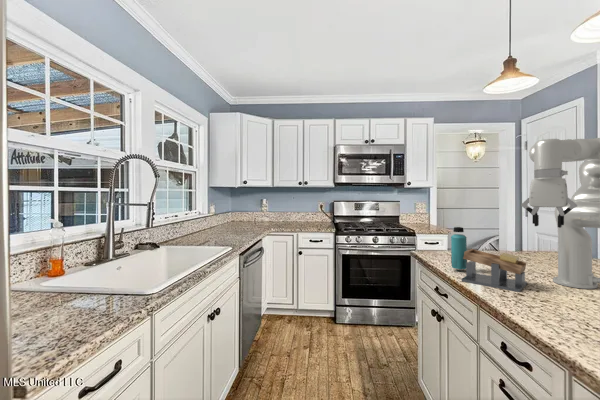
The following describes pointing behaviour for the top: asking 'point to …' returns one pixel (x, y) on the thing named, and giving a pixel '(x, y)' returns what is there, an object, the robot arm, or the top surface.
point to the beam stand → (494, 278)
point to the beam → (493, 261)
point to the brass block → (509, 258)
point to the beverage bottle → (458, 249)
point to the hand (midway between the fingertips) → (547, 226)
